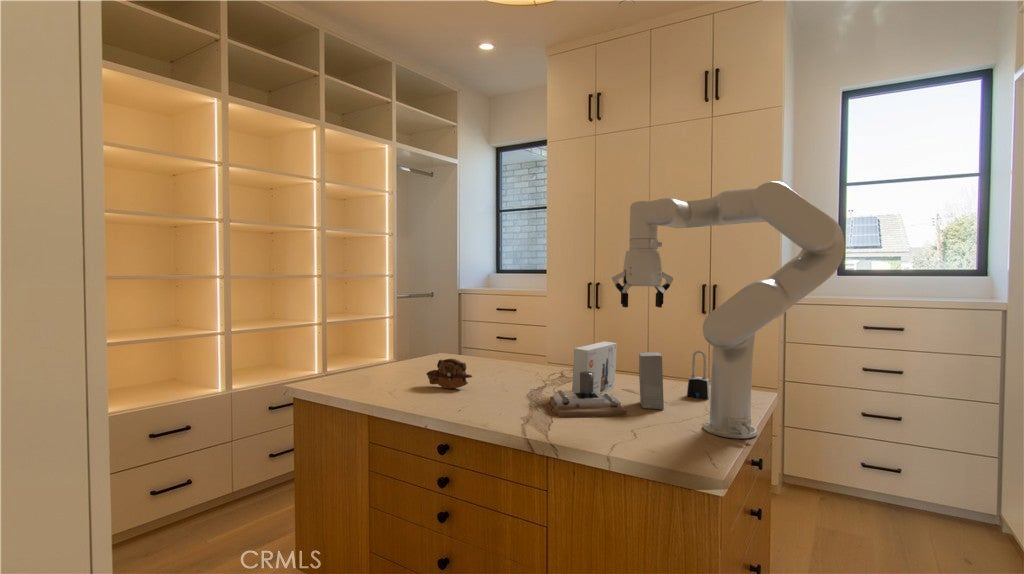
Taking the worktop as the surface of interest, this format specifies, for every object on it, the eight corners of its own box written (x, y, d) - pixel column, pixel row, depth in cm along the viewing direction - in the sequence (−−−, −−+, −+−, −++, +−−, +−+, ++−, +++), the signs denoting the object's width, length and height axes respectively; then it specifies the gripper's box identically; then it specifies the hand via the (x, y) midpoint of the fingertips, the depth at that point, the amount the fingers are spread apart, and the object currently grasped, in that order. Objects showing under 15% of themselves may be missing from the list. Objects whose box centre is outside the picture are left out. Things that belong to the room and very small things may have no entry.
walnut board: (626, 416, 142) (626, 410, 141) (558, 417, 140) (559, 411, 140) (610, 400, 157) (610, 395, 157) (549, 401, 156) (549, 396, 156)
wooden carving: (423, 388, 171) (423, 358, 171) (429, 385, 176) (429, 356, 175) (469, 392, 167) (469, 361, 166) (474, 388, 171) (474, 359, 171)
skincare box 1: (586, 401, 157) (587, 350, 156) (571, 398, 160) (572, 348, 160) (616, 388, 174) (617, 342, 173) (602, 385, 177) (603, 340, 177)
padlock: (710, 397, 163) (711, 350, 162) (708, 400, 159) (709, 352, 159) (688, 394, 166) (689, 348, 166) (686, 397, 163) (687, 350, 162)
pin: (594, 405, 147) (595, 374, 146) (580, 405, 146) (581, 374, 146) (591, 401, 151) (591, 371, 150) (578, 401, 150) (578, 371, 150)
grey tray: (621, 408, 145) (621, 397, 145) (558, 409, 143) (558, 398, 143) (612, 400, 154) (612, 389, 154) (553, 400, 152) (553, 390, 152)
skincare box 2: (664, 410, 147) (665, 356, 147) (638, 408, 149) (639, 355, 148) (661, 402, 156) (662, 351, 155) (637, 401, 157) (638, 350, 156)
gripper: (667, 246, 146) (666, 306, 147) (609, 246, 145) (608, 306, 146) (678, 245, 139) (677, 308, 140) (616, 245, 137) (615, 308, 138)
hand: (641, 307), depth 143 cm, fingers open, 9 cm apart
